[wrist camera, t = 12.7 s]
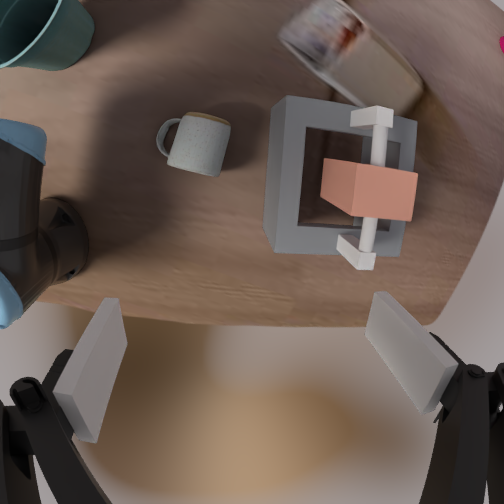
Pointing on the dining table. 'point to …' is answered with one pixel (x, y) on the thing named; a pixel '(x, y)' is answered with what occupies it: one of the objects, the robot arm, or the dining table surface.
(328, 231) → the gray square frame
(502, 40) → the pepper mill
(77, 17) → the flower pot
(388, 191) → the coral u-channel block
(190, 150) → the ceramic mug
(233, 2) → the dining table surface
